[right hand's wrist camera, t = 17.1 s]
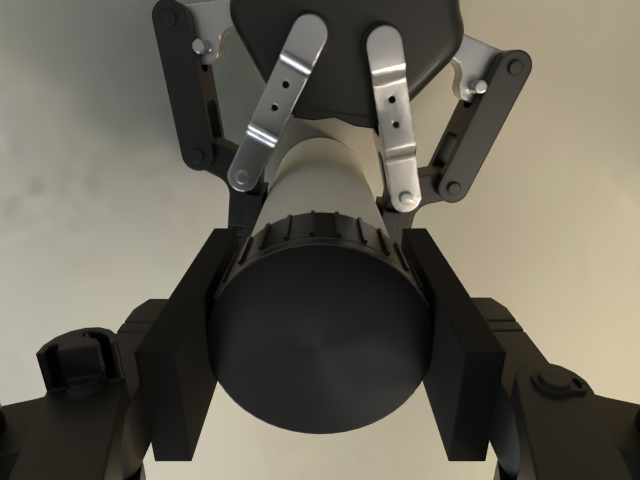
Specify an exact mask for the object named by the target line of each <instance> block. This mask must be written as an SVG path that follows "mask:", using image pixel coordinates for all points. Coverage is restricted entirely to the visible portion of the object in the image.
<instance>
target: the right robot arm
mask: <svg viewBox="0 0 640 480" xmlns="http://www.w3.org/2000/svg"><path fill="white" fill-rule="evenodd" d="M401 251H402V253H403V255H404V257H405V258H406V260H407V259H410V261H411V263H412V266H413V268H414V270H415V272H416V274H417V276H418V279H419V281H420V283H421V285H422V287H423V293H424V295H425V297H426V299H427V301H428V303H429V306H430V309H431V311H429V312H430V316H431V320H432V323H433V333H434V339H433V348H432V356H431V361H430V364H429V367H428V369H427V372H426V374H425V376H424V378H423V383H424V386H425V389H426V393H427V396H428V399H429V402H430V405H431V408H432V411H433V414H434V417H435V420H436V423H437V426H438V429H439V432H440V436H441V439H442V442H443V445H444V448H445V451H446V454H447V457H448V460H449V461H485V459H486V454H487V449H488V444H489V440H490V443H491V445H492V447H493V449H494V451H495V454H496V456H497V458H498V460H497V465H496V469H495V474H494V479H493V480H640V405H639V404H634V403H629V402H625V401H620V400H615V399H611V398H606V397H602V396H598V395H595V394H594V392H593V390H592V389H591V387H590V386H589V385H588V383H587V382H586V381H585V380H584V379H582V378H581V377H580V376H578V375H577V374H576V373H574V372H572V371H570V370H568V369H566V368H563V367H561V366H558V365H554V364H550V363H549V362H548V361H547V360H546V359H545V357H544V356H543V355H542V353H541V352H540V351H539V349H538V348H537V347H536V346H535V344H534V343H533V342H532V340H531V339H530V338H529V336H528V335H527V334H526V333H525V332H523V329H522V327H521V326H520V325H519V323H518V322H516V320H515V318H514V317H513V316H512V314H511V313H510V312H509V310H508V309H507V308H506V307H504V306H503V305H501V304H500V303H498V302H497V301H495V300H494V299H492V298H471V297H470V296H469V294H468V293H467V291H466V290H465V288H464V287H463V285H462V284H461V282H460V281H459V279H458V277H457V276H456V274H455V273H454V271H453V270H452V268H451V267H450V265H449V264H448V262H447V260H446V259H445V257H444V256H443V254H442V253H441V251H440V250H439V248H438V247H437V245H436V244H435V242H434V240H433V239H432V237H431V236H430V234H429V233H428V231H427V230H426V228H402V241H401ZM235 252H239V238H238V228H215V229H214V230H213V232H212V233H211V235H210V236H209V238H208V239H207V241H206V242H205V244H204V246H203V247H202V249H201V250H200V252H199V253H198V255H197V256H196V258H195V259H194V261H193V262H192V264H191V266H190V267H189V269H188V270H187V272H186V273H185V275H184V276H183V278H182V279H181V281H180V282H179V284H178V286H177V287H176V289H175V290H174V292H173V293H172V295H171V296H170V298H169V299H149V300H147V301H146V302H144V303H143V304H141V305H140V306H138V307H137V308H135V309H134V310H133V311H132V313H131V314H130V315H129V317H128V318H127V319H126V320H125V324H122V326H121V327H120V328H119V330H118V331H117V334H115V333H113V332H112V331H111V330H109V329H104V328H100V327H96V328H83V329H78V330H74V331H70V332H68V333H65V334H63V335H60V336H58V337H55V338H54V339H52V340H51V341H49V342H48V343H46V344H45V345H43V346H42V348H41V349H40V350H39V351H38V352H37V353H36V356H37V359H38V362H39V366H40V369H41V373H42V376H43V379H44V383H45V386H46V389H47V393H46V395H45V397H41V398H38V399H34V400H29V401H24V402H20V403H15V404H10V405H6V406H1V404H0V480H146V477H145V470H144V465H143V459H144V456H145V454H146V452H147V450H148V448H149V445H150V443H152V448H153V453H154V458H155V461H192V458H193V455H194V452H195V449H196V446H197V443H198V439H199V436H200V433H201V430H202V427H203V424H204V421H205V418H206V415H207V412H208V409H209V406H210V403H211V399H212V396H213V393H214V390H215V387H216V384H217V381H218V380H217V378H216V376H215V374H214V372H213V369H212V367H211V364H210V361H209V354H208V345H207V336H206V332H207V324H208V319H209V316H210V313H211V309H212V307H213V305H214V302H212V299H213V296H214V294H215V292H216V290H217V288H218V286H219V283H220V281H221V279H222V277H223V275H224V273H225V270H227V268H228V266H229V263H230V261H231V259H232V257H233V255H234V253H235Z"/></svg>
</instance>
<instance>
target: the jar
mask: <svg viewBox="0 0 640 480" xmlns="http://www.w3.org/2000/svg"><path fill="white" fill-rule="evenodd" d="M311 210H315V212H326V213H335V211H337V212H339V214H341V215H347V216H350V217H353V218H356V219H357V218H358V217H360V218H362V221H364V222H366V223H368V224H370V225H372V226H373V227H375V228H376V229H378V228H379V227H380V228H381V229H382V230H383V233H384V234H385V235H386V236H387V237H388V238H389V239H390V237H389V235H388V232H387V230H386V227H385V225H384V222H383V220H382V217H381V215H380V212H379V210H378V207H377V205H376V203H375V200H374V198H373V195H372V193H371V190H370V188H369V185H368V183H367V180H366V178H365V175H364V173H363V170H362V168H361V166H360V163H359V161H358V159H357V158H356V156H355V155H354V153H353V152H352V151H351V150H350V149H349V148H348V147H346V146H345V145H344V144H342V143H340V142H338V141H336V140H333V139H329V138H312V139H308V140H304V141H302V142H300V143H298V144H297V145H295V146H294V147H293V148H291V149H290V150H289V151H288V152H287V154H286V155H285V156H284V158H283V159H282V161H281V163H280V166H279V168H278V171H277V173H276V176H275V178H274V181H273V183H272V185H271V188H270V190H269V193H268V195H267V198H266V200H265V203H264V205H263V208H262V210H261V212H260V215H259V217H258V220H257V222H256V225H255V227H254V230H253V232H252V235H251V236H252V237H253V236H254V235H255V234H256V233H258V232H259V231H260V230H262V229H264V228H265V225H266V224H267V223H270V224H272V223H274V222H277V221H279V220H281V219H284V218H287V215H289V214H291V215H292V216H293V215H298V214H304V213H311Z"/></svg>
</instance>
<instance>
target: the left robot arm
mask: <svg viewBox="0 0 640 480" xmlns="http://www.w3.org/2000/svg"><path fill="white" fill-rule="evenodd" d="M152 20H153V25H154V29H155V34H156V38H157V43H158V48H159V52H160V57H161V61H162V66H163V71H164V75H165V80H166V84H167V89H168V94H169V98H170V103H171V107H172V112H173V117H174V121H175V126H176V130H177V135H178V140H179V144H180V149H181V153H182V158H183V160H184V162H185V164H186V165H187V166H188V167H189V168H191V169H193V170H197V171H201V170H206V171H208V172H210V173H212V174H214V175H216V176H218V177H220V178H221V179H222V180H223V181H224V182H225V183H226V184H227V186H228V188H229V192H230V200H229V217H228V228H238V238H239V251H240V249H241V248H242V247H243V246H244V245H245V243H246V241H247V238H248V237H249V236H250V235H252V232H253V230H254V227H255V225H256V222H257V220H258V217H259V215H260V212H261V210H262V208H263V205H264V203H265V200H266V198H267V194H268V183H267V182H264V173H265V167H266V165H267V163H268V161H269V159H270V157H271V155H272V153H273V151H274V148H275V146H276V144H277V142H278V140H279V138H280V136H281V134H282V132H283V130H284V128H285V126H286V124H287V122H288V120H289V118H290V116H291V114H293V115H294V117H293V118H301V119H308V120H319V119H327V118H337V119H340V120H342V121H344V122H347V123H349V124H351V125H354V126H359V127H366V128H372V132H373V137H374V142H375V146H376V149H377V154H378V160H379V165H380V171H381V176H382V182H383V187H384V191H383V196H382V197H378V196H377V198H376V205H377V207H378V210H379V212H380V215H381V217H382V220H383V222H384V225H385V227H386V230H387V232H388V235H389V237H390V239H391V240H392V241H393V242H394V243H395V242H397V243H398V244H399V246H400V248H401V241H402V228H411V226H412V222H413V218H414V215H415V213H416V212H417V211H418V209H419V208H421V207H422V206H424V205H426V204H429V203H434V202H439V201H446V202H449V203H455V202H458V201H460V200H462V199H463V198H464V197H465V196H466V194H467V193H468V191H469V189H470V187H471V185H472V183H473V181H474V179H475V177H476V175H477V174H478V172H479V170H480V168H481V166H482V164H483V162H484V160H485V158H486V156H487V154H488V153H489V151H490V149H491V147H492V145H493V143H494V141H495V139H496V137H497V135H498V134H499V132H500V130H501V128H502V126H503V124H504V122H505V120H506V118H507V116H508V114H509V113H510V111H511V109H512V107H513V105H514V103H515V101H516V99H517V97H518V95H519V93H520V92H521V90H522V88H523V86H524V84H525V82H526V80H527V78H528V76H529V74H530V72H531V69H532V61H531V58H530V56H529V55H528V54H527V53H526V52H525V51H523V50H508V51H501V50H499V49H496V48H494V47H492V46H490V45H487V44H485V43H483V42H481V41H478V40H476V39H474V38H471V37H469V36H467V35H465V34H464V26H463V21H462V17H461V13H460V8H459V0H216V1H207V2H198V3H189V4H184V3H182V2H180V1H175V0H160V1H158V2H157V3H156V4H155V6H154V8H153V11H152ZM233 30H236V31H237V32H238V34H239V36H240V38H241V40H242V41H243V43H244V45H245V47H246V49H247V51H248V52H249V54H250V56H251V58H252V60H253V61H254V63H255V65H256V67H257V69H258V70H259V72H260V74H261V76H262V78H263V79H264V81H265V83H266V87H265V89H264V91H263V93H262V96H261V98H260V100H259V102H258V104H257V106H256V109H255V111H254V113H253V115H252V117H251V119H250V122H249V124H248V127H247V130H246V133H245V135H244V137H243V140H242V142H241V144H240V146H238V145H236V144H235V143H233V142H231V141H229V140H227V139H225V138H224V132H223V126H222V121H221V115H220V110H219V104H218V98H217V93H216V87H215V81H214V76H213V70H212V65H213V64H216V63H218V62H219V61H221V59H222V58H223V56H224V52H225V40H226V37H227V36H228V34H229V33H230V32H232V31H233ZM449 62H450V63H451V64H452V65H453V67H454V71H455V77H454V81H453V85H452V89H453V93H454V95H455V96H456V97H457V98H458V99H459V102H458V104H457V106H456V108H455V110H454V112H453V115H452V117H451V119H450V121H449V123H448V125H447V127H446V129H445V131H444V133H443V135H442V138H441V140H440V142H439V144H438V146H437V148H436V150H435V152H434V154H433V156H432V159H431V161H430V163H429V165H428V166H426V167H421V168H417V164H416V157H415V153H416V141H415V135H414V128H413V121H412V114H411V107H410V102H411V101H412V100H413V99H414V97H415V96H416V95H417V94H418V93H419V92H420V91H421V90H422V89H423V88H424V87H425V86H426V85H427V84H428V83H429V82H430V81H431V80H432V79H433V78H434V77H435V76H436V75H437V74H438V73H439V72H440V71H441V70H442V69H443V68H444V67H445V66H446V65H447V64H448V63H449Z"/></svg>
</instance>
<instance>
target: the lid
mask: <svg viewBox="0 0 640 480" xmlns="http://www.w3.org/2000/svg"><path fill="white" fill-rule="evenodd" d="M212 302H214V305H213V307H212V309H211V313H210V316H209V319H208V324H207V332H206V336H207V345H208V354H209V361H210V364H211V367H212V369H213V372H214V374H215V376H216V378H217V380H218V382H219V383H220V385H221V386H222V387H223V389H224V390H225V392H226V393H227V394H228V395H229V396H230V397H231V398H232V399H233V400H234V402H236V403H237V404H238V405H239V406H240V407H242V408H243V409H244V410H245V411H247V412H248V413H250V414H251V415H253V416H254V417H256V418H258V419H260V420H262V421H264V422H266V423H268V424H271V425H273V426H276V427H279V428H282V429H286V430H290V431H294V432H301V433H309V434H332V433H339V432H346V431H350V430H354V429H358V428H361V427H364V426H367V425H369V424H372V423H374V422H376V421H378V420H380V419H382V418H384V417H386V416H387V415H389V414H390V413H392V412H393V411H395V410H396V409H397V408H399V407H400V406H401V405H402V404H403V403H405V401H406V400H407V399H408V398H409V397H410V396H411V395H412V394H413V393H414V392H415V390H416V389H417V388H418V386H419V385H420V383H421V381H422V380H423V378H424V376H425V374H426V372H427V369H428V367H429V364H430V361H431V356H432V348H433V339H434V333H433V323H432V320H431V316H430V312H429V311H431V309H430V306H429V303H428V301H427V299H426V297H425V295H424V293H423V287H422V285H421V283H420V281H419V279H418V276H417V274H416V272H415V270H414V268H413V266H412V263H411V261H410V259H407V260H406V258H405V257H404V255H403V253H402V251H401V248H400V246H399V244H398V243H397V242H395V243H394V242H393V241H392V240H391V239H389V238H388V237H387V236H386V235H385V234H384V233H383V230H382V229H381V228H380V227H379V228H378V229H376V228H375V227H373V226H372V225H370V224H368V223H366V222H364V221H362V218H360V217H358V218H357V219H356V218H353V217H350V216H347V215H341V214H339V212H337V211H335V213H326V212H315V210H311V213H304V214H298V215H293V216H292V215H291V214H289V215H287V218H284V219H281V220H279V221H277V222H274V223H272V224H270V223H267V224H266V225H265V228H264V229H262V230H260V231H259V232H258V233H256V234H255V235H254V236H253V237H252V236H251V235H250V236H249V237H248V238H247V241H246V243H245V245H244V246H243V247H242V248H241V249H240V251H239V252H235V253H234V255H233V257H232V259H231V261H230V263H229V266H228V268H227V270H225V273H224V275H223V277H222V279H221V281H220V283H219V286H218V288H217V290H216V292H215V294H214V296H213V299H212Z"/></svg>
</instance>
